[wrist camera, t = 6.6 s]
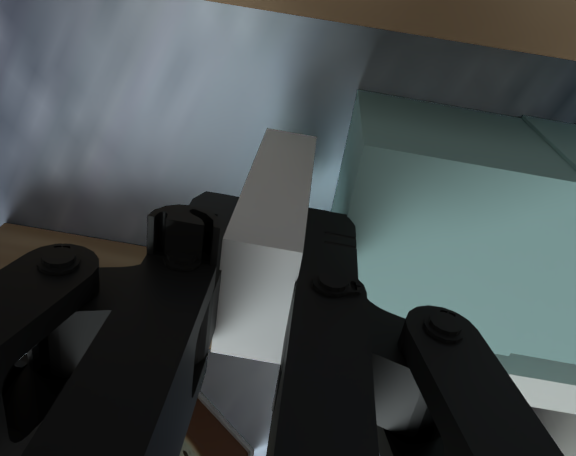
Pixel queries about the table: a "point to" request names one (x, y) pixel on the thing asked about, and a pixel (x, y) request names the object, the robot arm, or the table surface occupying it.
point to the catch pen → (543, 381)
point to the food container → (212, 434)
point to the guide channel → (376, 14)
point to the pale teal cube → (554, 272)
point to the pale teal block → (453, 210)
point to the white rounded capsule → (560, 428)
